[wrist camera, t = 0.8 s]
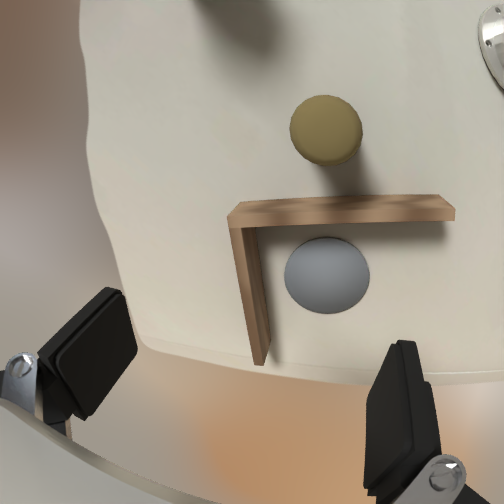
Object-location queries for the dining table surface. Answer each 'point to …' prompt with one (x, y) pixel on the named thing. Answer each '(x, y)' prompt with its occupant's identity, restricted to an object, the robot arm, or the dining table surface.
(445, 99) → the dining table surface
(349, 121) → the cork
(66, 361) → the robot arm
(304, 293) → the pad
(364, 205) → the wooden corner wall
